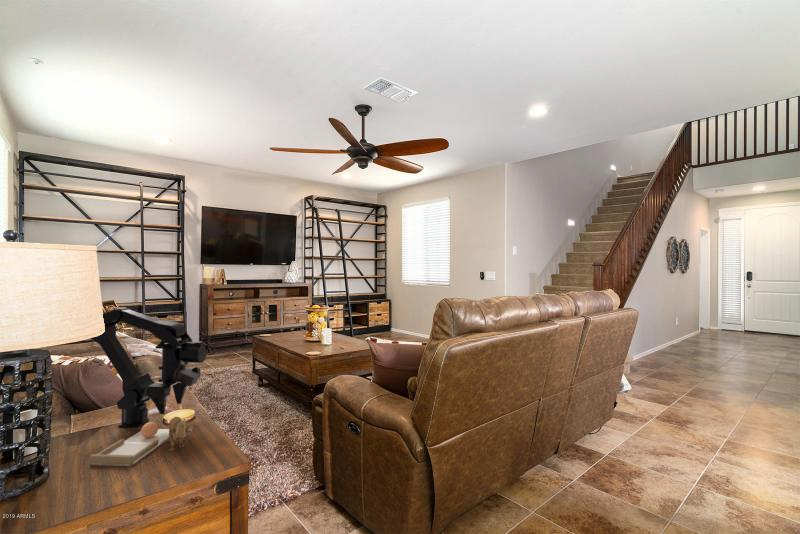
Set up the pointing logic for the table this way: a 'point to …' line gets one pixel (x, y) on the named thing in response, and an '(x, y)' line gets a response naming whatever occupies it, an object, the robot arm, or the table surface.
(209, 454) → the table surface
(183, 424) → the lion figurine
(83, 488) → the table surface
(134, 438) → the lane
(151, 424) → the ball
